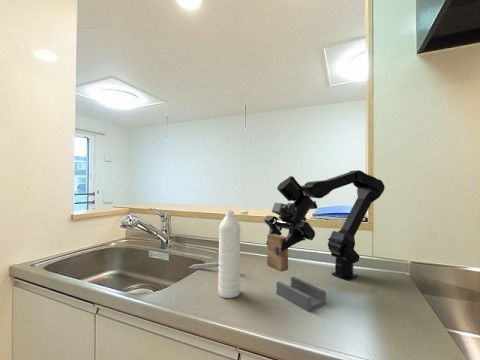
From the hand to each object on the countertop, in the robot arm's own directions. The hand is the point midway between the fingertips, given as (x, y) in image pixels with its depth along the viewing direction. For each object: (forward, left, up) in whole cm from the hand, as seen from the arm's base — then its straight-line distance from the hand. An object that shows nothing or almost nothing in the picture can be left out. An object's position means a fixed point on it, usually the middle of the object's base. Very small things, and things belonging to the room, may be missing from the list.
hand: (274, 247), depth 74 cm
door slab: (-1, 0, -7) cm, 7 cm away
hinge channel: (-3, +8, -13) cm, 16 cm away
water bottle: (+12, -5, -13) cm, 19 cm away
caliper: (+9, -25, -14) cm, 29 cm away
